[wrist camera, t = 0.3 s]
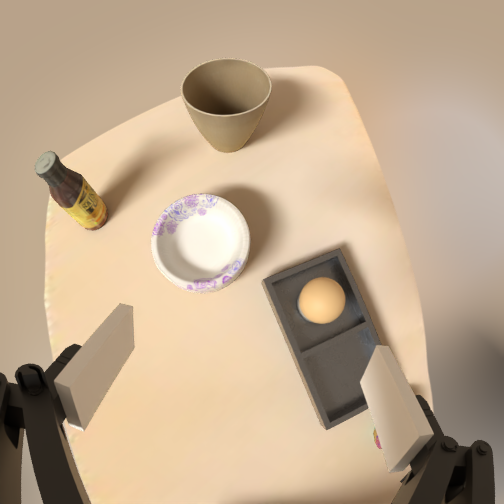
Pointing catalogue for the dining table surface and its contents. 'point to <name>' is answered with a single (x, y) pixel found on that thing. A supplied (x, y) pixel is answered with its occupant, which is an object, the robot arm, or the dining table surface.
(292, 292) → the divided tray
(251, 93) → the plant pot
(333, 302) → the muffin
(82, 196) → the sauce bottle
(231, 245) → the paper bowls
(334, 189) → the dining table surface
